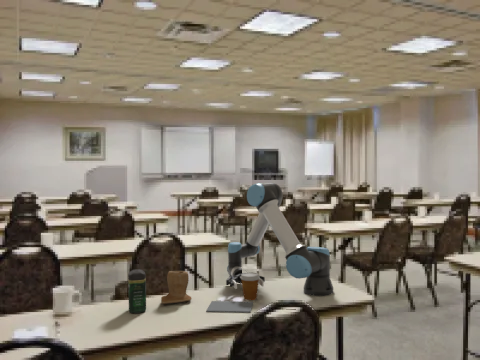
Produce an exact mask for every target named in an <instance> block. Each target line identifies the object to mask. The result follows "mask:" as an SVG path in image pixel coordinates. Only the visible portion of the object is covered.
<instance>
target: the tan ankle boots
mask: <svg viewBox="0 0 480 360" xmlns="http://www.w3.org/2000/svg"><path fill="white" fill-rule="evenodd" d="M189 281H190V280H189V273H188V271H185V270H173V271H172V270H171V271H170V270H169V271H168V273H167V277H166V282H167V287H168V294H166V295H162V296H161V299H160V301H161V305H169V304H177V303H184V302H185V303H186V302H189V301H192V296H190V295H188V294H187V288H188V285H189Z"/></svg>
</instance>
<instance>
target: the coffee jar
mask: <svg viewBox="0 0 480 360" xmlns="http://www.w3.org/2000/svg"><path fill="white" fill-rule="evenodd" d="M127 278H128V279H127V280H128V281H127V282H128V285H127V286H128V311H129V313H131V314H140V313H144V312H146V310H147V278H146V271H144V270H143V269H140V268H139V269H136V268H135V269H132V270H130V271H129V272H128V274H127Z"/></svg>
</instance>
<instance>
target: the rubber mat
mask: <svg viewBox="0 0 480 360" xmlns="http://www.w3.org/2000/svg"><path fill="white" fill-rule="evenodd" d="M253 305H254V301H236V300H235V301H233V300H232V301H231V300H229V301H228V300H227V301H226V300H211V302H210V303H209V305H208V306H207V309H206V310H205V312H206V313H243V314H245V313H246V314H248V313H249V314H251V312H252V308H253Z"/></svg>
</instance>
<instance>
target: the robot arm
mask: <svg viewBox="0 0 480 360" xmlns="http://www.w3.org/2000/svg"><path fill="white" fill-rule="evenodd" d="M246 192H247V193H246V201H247V202H248V204H249V205H250V206H252V207H255V208H256V210H257V211H258V216H257V218H256V220H255V221H254V223H253V226H252V228H251V230H250V232H249V235H248V237H247V239H246V240H245V243H243V244H242V243H241V242H238V241H237V242H236V241H234V242H229V243H228V245H227V246H228V247H227V253H228V254H227V255H228V256H227V257H228V260H227V261H228V263H227V264H228V265H227V267H226V271H227V273H228V278H227V279H226V280H225V285H226V286H229V287H231V288H232V287H233V288H234V289H235V290H236V289H238V284H242V280H241V278H240V277H241V274H242V268H243V265H242V263H243V261H242V259H245V258H249V257H252V256H255V255H258V254H259V253H260V251H261V250H260V249H261V248H260V247H261V246H260V244H261V242H262V240H263V238H264V235H265V233H266V231H267V229H268V227H269V226H270V228H271V229H272V232H273V233H274V235H275V236H276V238H277V240H278V241H279V244H280V245H281V246H282V249H283V250H284V253H285V255H284V256H285V257H284V258H285V260H286V261H285V269H286V271H287V272H288V274H289V275H290V276H291V277H293V278H295V279H305V282H304V285H303V293H305V294H307V295H310V296H314V297H315V296H316V297H325V296H331V295H332V294H334V286H333V283H332V280H331V276H330V275H331V273H330V272H331V269H330V265H331V263H330V259H331V255H330V250H329V248H327V247H320V246H306V245H305V244H301V242H300V241H299V239H298V237H297V235H296V233H295V232H294V230H293V229H292V227H291V226H290V224H289V222H288V220H287V218H286V217H285V215H284V213H283V212H282V211H281V209H280V206H281V204H282V201H283V197H284V195H283V194H284V193H283V190H282V188H281V186H280V185H279V184H277V183H276V182H263V183H261V182H257V183H254V184H252V185H250V187H248V189H247V191H246ZM241 267H242V268H241ZM259 276H260V278H259V281H258V285H260V286H261V287H264V283H265V282H266V281H265V280H266V279H265V276H262V275H259Z"/></svg>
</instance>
